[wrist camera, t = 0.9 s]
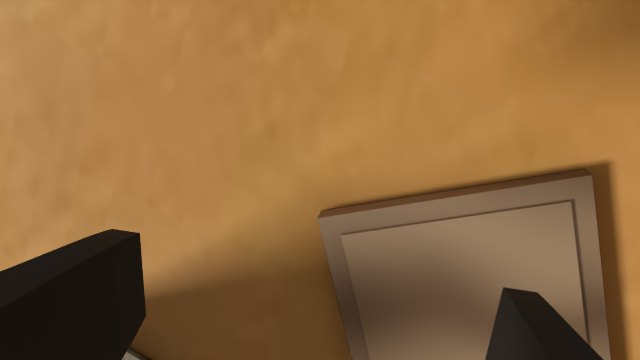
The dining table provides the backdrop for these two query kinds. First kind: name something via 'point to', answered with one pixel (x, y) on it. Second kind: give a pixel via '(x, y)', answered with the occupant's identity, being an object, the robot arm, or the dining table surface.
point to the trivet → (464, 265)
